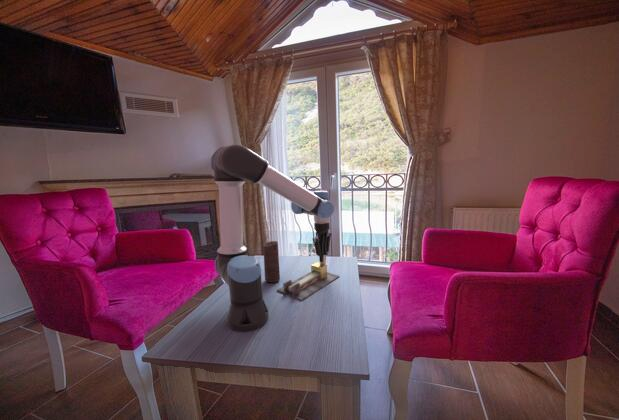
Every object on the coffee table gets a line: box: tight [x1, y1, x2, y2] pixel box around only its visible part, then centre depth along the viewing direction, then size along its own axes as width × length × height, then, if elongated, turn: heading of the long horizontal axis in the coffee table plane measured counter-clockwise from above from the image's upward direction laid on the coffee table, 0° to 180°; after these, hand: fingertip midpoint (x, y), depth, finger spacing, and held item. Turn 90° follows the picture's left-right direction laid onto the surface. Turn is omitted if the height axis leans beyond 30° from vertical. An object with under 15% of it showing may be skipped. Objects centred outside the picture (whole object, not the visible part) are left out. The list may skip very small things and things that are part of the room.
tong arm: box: [287, 271, 320, 291], centre depth 125 cm, size 21×3×2 cm, turn 140°
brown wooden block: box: [262, 240, 281, 283], centre depth 130 cm, size 8×7×20 cm
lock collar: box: [310, 261, 328, 280], centre depth 132 cm, size 5×6×6 cm
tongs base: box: [276, 271, 340, 302], centre depth 127 cm, size 29×15×5 cm, turn 140°
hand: (322, 267), depth 135 cm, fingers closed
